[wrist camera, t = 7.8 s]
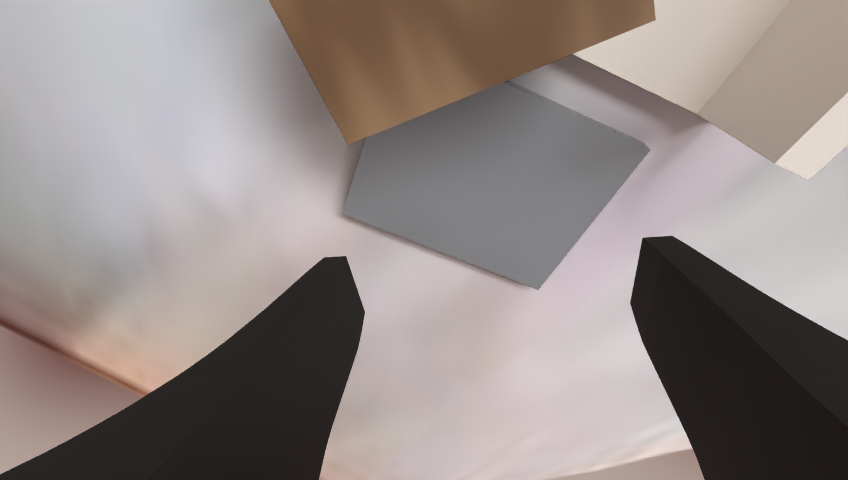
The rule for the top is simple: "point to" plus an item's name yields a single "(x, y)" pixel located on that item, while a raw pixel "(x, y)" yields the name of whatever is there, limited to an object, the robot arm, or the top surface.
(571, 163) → the mat
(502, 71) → the walnut block
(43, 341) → the top surface
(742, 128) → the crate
